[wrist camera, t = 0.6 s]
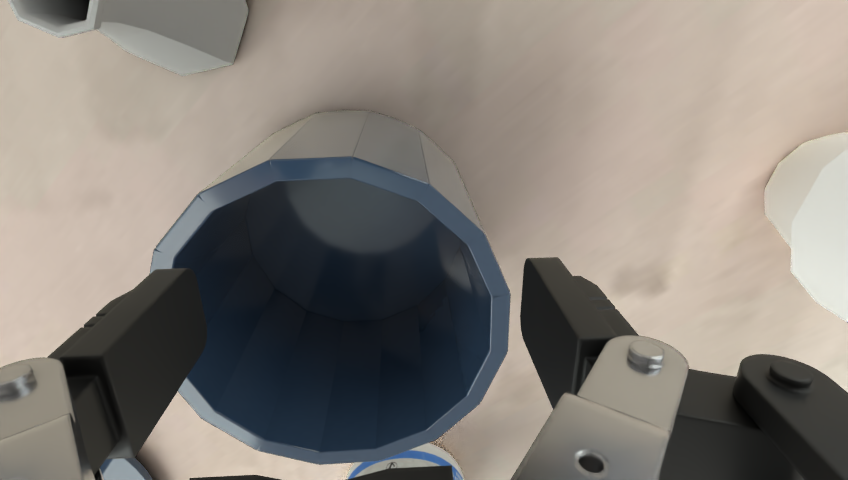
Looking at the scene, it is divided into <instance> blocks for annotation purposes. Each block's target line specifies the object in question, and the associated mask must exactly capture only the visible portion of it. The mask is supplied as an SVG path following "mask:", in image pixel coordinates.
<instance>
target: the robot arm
mask: <svg viewBox="0 0 848 480" xmlns="http://www.w3.org/2000/svg"><path fill="white" fill-rule="evenodd" d="M520 320H521V331H522V336H523V339H524V342H525V344H526V347H527V349H528V351H529V354H530V356H531V358H532V361H533V363H534V365H535V368H536V370H537V372H538V375H539V377H540V379H541V382H542V384H543V387H544V389H545V391H546V394H547V396H548V398H549V401H550V403H551V405H552V408H553V411H552V413H551V415H550V416H549V418H548V419H547V421H546V423H545V424H544V426H543V428H542V429H541V431H540V433H539V434H538V436H537V437H536V439H535V441H534V442H533V444H532V446H531V447H530V449H529V451H528V452H527V454H526V455H525V457H524V459H523V460H522V462H521V464H520V465H519V467H518V469H517V470H516V472H515V473H514V475H513V477H512V478H511V480H848V393H847V392H846V391H845V390H844V389H843V388H841V387H840V386H839V385H838V384H836V383H835V382H834V381H833V380H832V379H830V378H829V377H828V376H826V375H825V374H823V373H822V372H820V371H818V370H817V369H815V368H813V367H811V366H808V365H806V364H804V363H801V362H798V361H796V360H793V359H789V358H785V357H781V356H775V355H765V354H760V355H752V356H748V357H746V358H744V359H743V360H742V361H741V363H740V366H739V370H738V373H737V377H734V376H727V375H721V374H715V373H708V372H702V371H697V370H692V369H689V365H688V362H687V360H686V358H685V357H684V356H683V355H682V354H681V353H680V352H679V351H678V350H676V349H675V348H673V347H672V346H670V345H668V344H666V343H664V342H661V341H659V340H656V339H653V338H649V337H644V336H639V335H638V334H637V333H636V332H635V330H634V329H633V328H632V327H631V326H630V324H629V323H628V322H627V321H626V320H625V318H624V317H623V316H622V315H621V314H620V312H619V311H618V310H617V309H615V306H614V305H613V304H612V303H611V302H610V300H607V297H606V296H605V294H604V293H603V292H602V291H601V290H600V288H599V287H598V286H597V285H595V284H593V283H592V282H590V281H588V280H587V279H585V278H583V277H581V276H572V275H571V274H570V272H569V271H568V270H567V268H566V267H565V266H564V264H563V263H562V262H561V260H560V259H559V258H557V257H554V258H527V259H526V261H525V265H524V274H523V287H522V301H521V315H520ZM206 341H207V325H206V320H205V315H204V310H203V306H202V301H201V296H200V291H199V287H198V282H197V278H196V275H195V273H194V271H193V270H192V269H190V268H180V269H156V270H154V271H153V272H152V273H151V274H150V275H149V276H148V277H146V278H145V279H144V280H143V281H142V282H141V283H140V284H139V285H138V286H137V287H135V288H134V289H133V290H131V291H129V292H128V293H126V294H124V295H122V296H120V297H118V298H116V299H114V300H112V301H111V302H109V303H108V304H107V305H106V306H105V307H104V308H103V309H101V310H100V311H99V312H98V313H97V314H96V317H92V318H91V319H90V320H89V321H88V322H87V323H86V324H84V328H80V329H79V330H78V331H77V332H75V333H74V334H73V335H72V336H71V337H70V338H69V339H67V340H66V341H65V342H64V343H63V344H62V345H61V346H60V347H58V348H57V349H56V350H55V351H54V352H53V353H52V354H51V355H49V356H48V357H47V358H33V359H27V360H23V361H19V362H15V363H12V364H9V365H6V366H3V367H1V368H0V480H104V479H103V476H102V473H101V470H100V467H101V466H102V464H103V463H104V461H105V460H106V459H124V458H135V456H136V455H137V453H138V452H139V450H140V449H141V447H142V446H143V444H144V442H145V441H146V439H147V438H148V436H149V435H150V433H151V432H152V430H153V428H154V427H155V425H156V424H157V422H158V421H159V419H160V418H161V416H162V414H163V413H164V411H165V410H166V408H167V407H168V405H169V404H170V402H171V401H172V399H173V397H174V396H175V394H176V393H177V391H178V390H179V388H180V387H181V385H182V383H183V382H184V380H185V379H186V377H187V376H188V374H189V373H190V371H191V369H192V368H193V366H194V365H195V363H196V362H197V360H198V359H199V357H200V355H201V354H202V352H203V350H204V348H205V345H206ZM190 480H280V479H275V478H269V477H264V476H258V475H244V476H224V477H203V478H190ZM347 480H453V472H452V465H449V466H429V467H408V468H388V469H385V470H381V471H377V472H373V473H370V474H366V475H362V476H358V477H355V478H351V479H347Z"/></svg>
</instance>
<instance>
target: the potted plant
mask: <svg viewBox="0 0 848 480" xmlns="http://www.w3.org/2000/svg"><path fill="white" fill-rule="evenodd" d="M764 196H765V215H766V216H767V218H768V219H769V220H770V222H771V223H772V224H773V226H774V227H775V228H776V229H777V231H778V232H779V233H780V235H781V236H782V237H783V239H784V240H785V241H786V242H787V244H788V245H789V246H790V248H791V272H792V274H793V275H794V276H795V277H796V278H797V280H798V281H799V282H800V283H801V284H802V286H803V287H804V288H805V289H806V290H807V292H808V293H809V294H810V295H811V297H812V298H813V299H814V300H815V301H816V303H818V304H819V305H821V306H822V307H824V308H825V309H827V310H829V311H830V312H832V313H833V314H835V315H836V316H838V317H839V318H841V319H843V320H844V321H846V322H847V323H848V132H845V133H838V134H831V135H828V136H825V137H821V138H818V139H814V140H811V141H807V142H804V143H802V144H801V145H800V146H799V147H797V148H796V149H795V150H794V151H793V152H791V153H790V154H789V155H788V156H787V157H785V158H784V159H783V160H782V161H781V162H779V163H778V165H777V167H776V169H775V171H774V172H773V174H772V176H771V178H770V180H769V182H768V184H767V186H766V188H765V189H764Z"/></svg>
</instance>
